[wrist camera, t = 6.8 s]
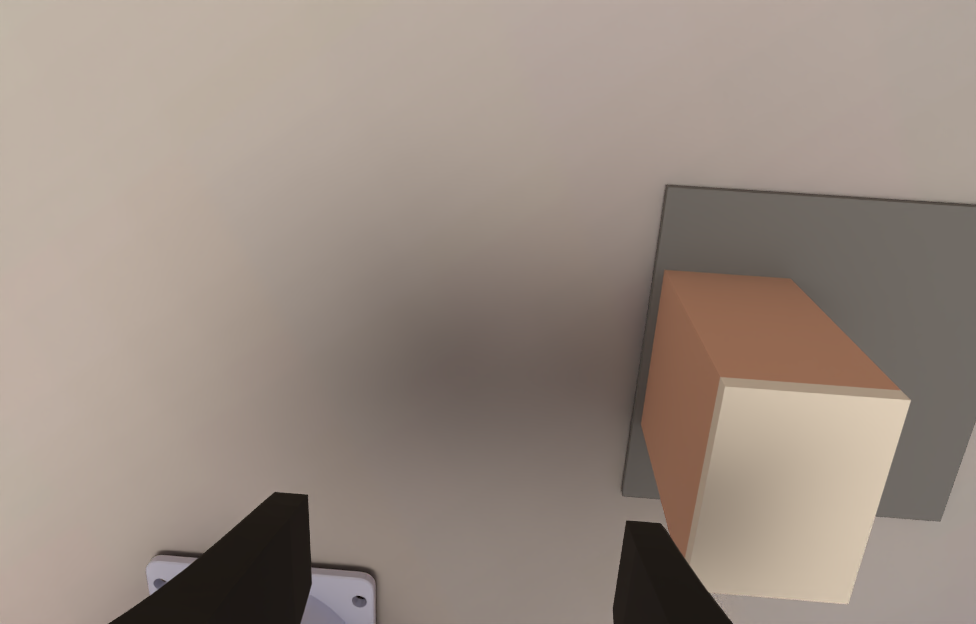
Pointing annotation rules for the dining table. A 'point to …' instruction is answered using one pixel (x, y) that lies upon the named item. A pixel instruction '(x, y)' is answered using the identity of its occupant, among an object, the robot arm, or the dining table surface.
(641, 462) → the mat
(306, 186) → the dining table surface
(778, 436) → the block
